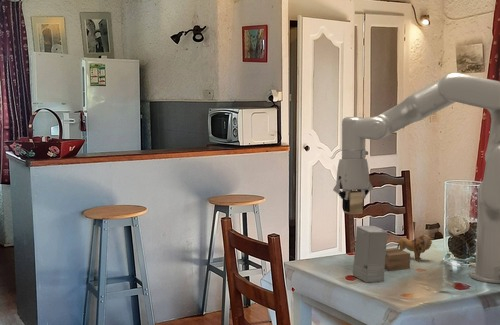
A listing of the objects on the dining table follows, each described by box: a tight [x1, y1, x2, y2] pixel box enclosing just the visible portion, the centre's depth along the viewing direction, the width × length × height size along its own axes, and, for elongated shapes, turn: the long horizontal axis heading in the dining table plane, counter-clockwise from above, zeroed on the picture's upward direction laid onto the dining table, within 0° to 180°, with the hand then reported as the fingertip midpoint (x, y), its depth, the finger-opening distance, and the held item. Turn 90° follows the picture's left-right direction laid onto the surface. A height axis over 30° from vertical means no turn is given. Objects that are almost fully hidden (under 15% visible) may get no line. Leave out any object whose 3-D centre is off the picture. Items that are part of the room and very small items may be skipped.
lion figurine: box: [396, 234, 433, 262], centre depth 209 cm, size 15×5×9 cm, turn 47°
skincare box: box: [352, 225, 389, 283], centre depth 184 cm, size 8×7×16 cm
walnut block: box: [384, 247, 411, 272], centre depth 198 cm, size 8×8×5 cm
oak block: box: [342, 190, 364, 215], centre depth 196 cm, size 4×4×7 cm
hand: (353, 210), depth 196 cm, fingers closed on oak block, 4 cm apart
